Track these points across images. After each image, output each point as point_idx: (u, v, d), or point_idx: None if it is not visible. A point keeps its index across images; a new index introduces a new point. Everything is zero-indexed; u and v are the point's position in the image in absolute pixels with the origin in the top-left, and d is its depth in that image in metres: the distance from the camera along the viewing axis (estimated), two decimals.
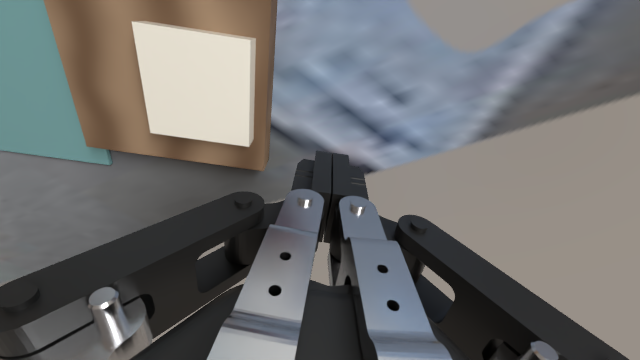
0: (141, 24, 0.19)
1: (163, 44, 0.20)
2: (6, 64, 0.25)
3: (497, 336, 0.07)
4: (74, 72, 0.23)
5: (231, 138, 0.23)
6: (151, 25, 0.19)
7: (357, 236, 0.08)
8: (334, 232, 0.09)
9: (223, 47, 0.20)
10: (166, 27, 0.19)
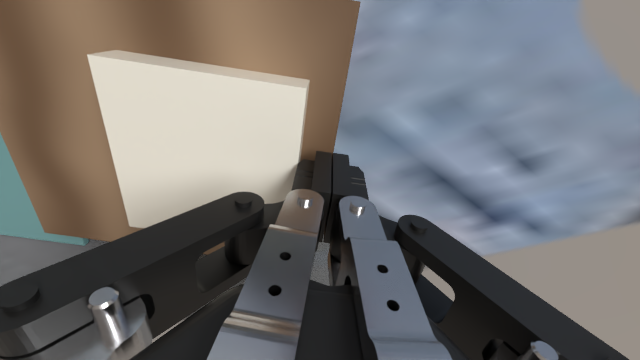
0: (105, 59, 0.10)
1: (147, 94, 0.11)
2: None
3: (497, 336, 0.07)
4: (14, 131, 0.14)
5: None
6: (124, 61, 0.10)
7: (357, 236, 0.08)
8: (334, 232, 0.09)
9: (255, 100, 0.11)
10: (152, 65, 0.11)
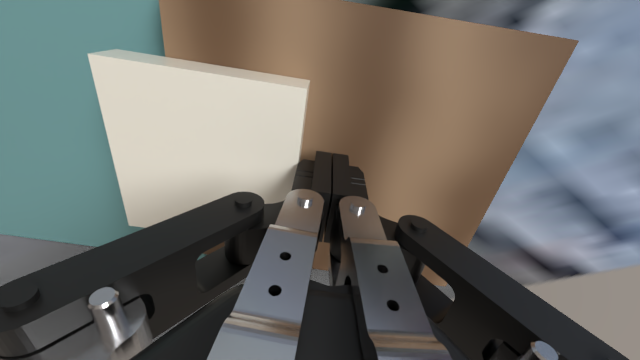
0: (106, 59, 0.10)
1: (147, 93, 0.11)
2: (74, 133, 0.16)
3: (497, 336, 0.07)
4: None
5: None
6: (124, 60, 0.10)
7: (357, 236, 0.08)
8: (334, 232, 0.09)
9: (256, 100, 0.11)
10: (152, 64, 0.11)
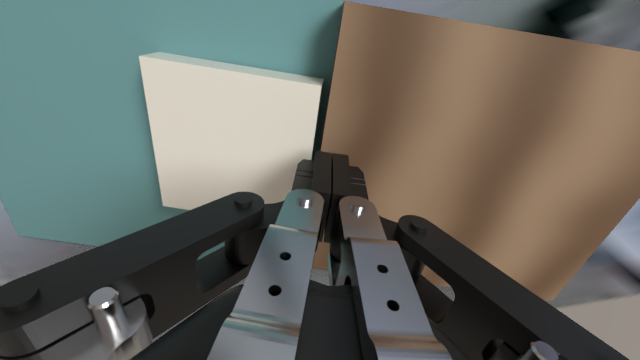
0: (153, 60, 0.12)
1: (186, 89, 0.13)
2: None
3: (497, 336, 0.07)
4: None
5: None
6: (169, 61, 0.12)
7: (357, 236, 0.08)
8: (334, 232, 0.09)
9: (278, 95, 0.13)
10: (191, 65, 0.13)
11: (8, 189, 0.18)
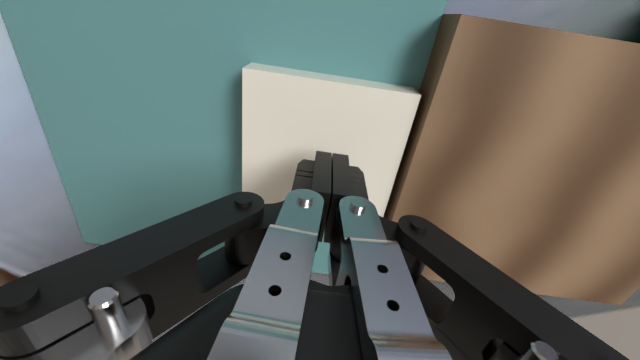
0: (256, 72, 0.13)
1: (285, 100, 0.13)
2: None
3: (497, 336, 0.07)
4: (419, 185, 0.15)
5: None
6: (271, 73, 0.13)
7: (357, 236, 0.08)
8: (334, 232, 0.09)
9: (376, 105, 0.13)
10: (294, 76, 0.13)
11: (80, 197, 0.18)
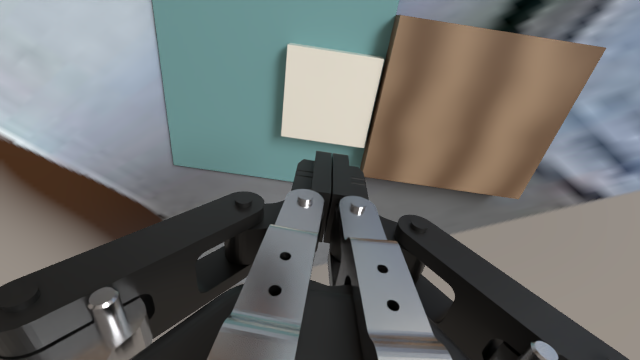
0: (295, 46, 0.23)
1: (310, 62, 0.24)
2: None
3: (497, 336, 0.07)
4: (385, 113, 0.25)
5: (350, 140, 0.27)
6: (303, 47, 0.23)
7: (357, 236, 0.08)
8: (334, 232, 0.09)
9: (360, 65, 0.24)
10: (315, 49, 0.24)
11: (177, 131, 0.29)
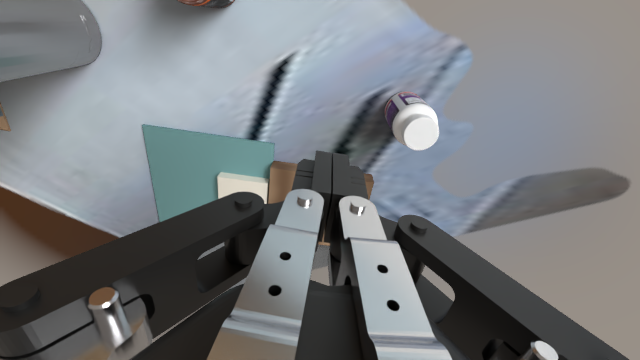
0: (221, 177, 0.45)
1: (229, 184, 0.46)
2: None
3: (497, 336, 0.07)
4: None
5: None
6: (225, 178, 0.46)
7: (357, 236, 0.08)
8: (334, 232, 0.09)
9: (255, 185, 0.46)
10: (231, 178, 0.46)
11: (162, 210, 0.51)
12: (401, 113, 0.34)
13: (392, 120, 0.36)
